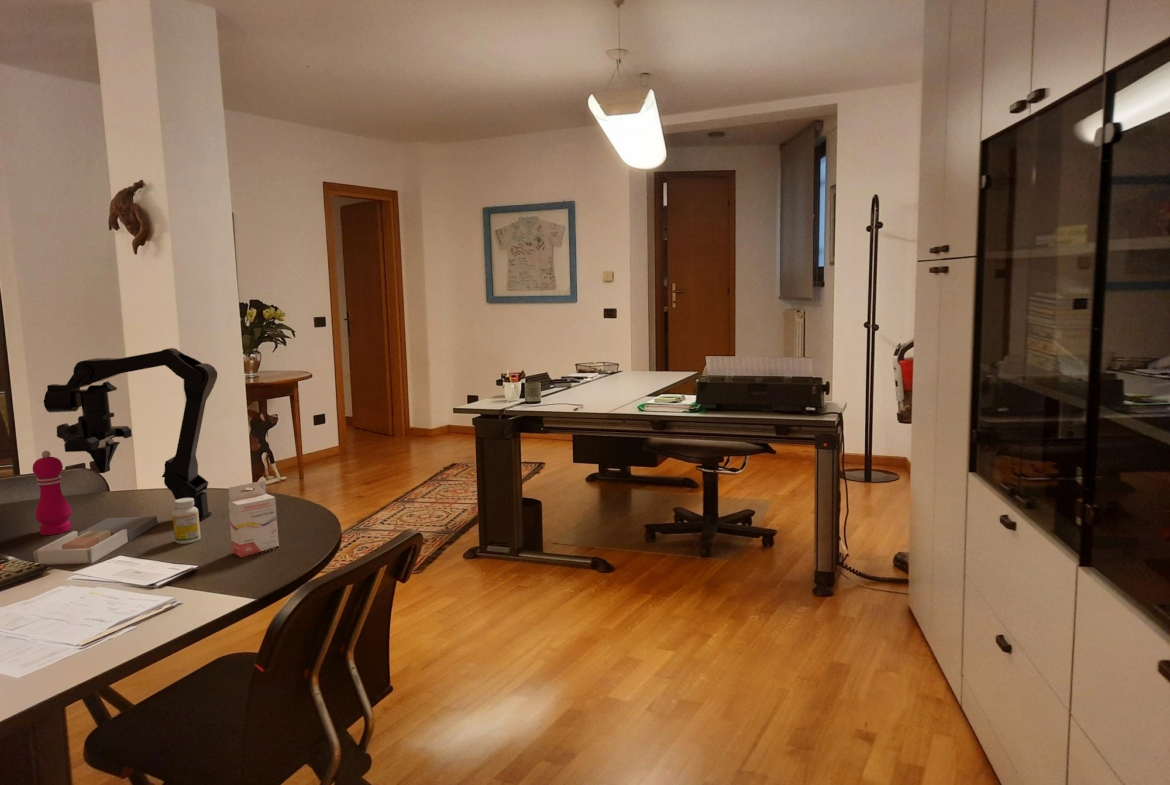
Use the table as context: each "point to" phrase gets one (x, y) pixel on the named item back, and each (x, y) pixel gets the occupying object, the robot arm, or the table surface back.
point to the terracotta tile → (81, 543)
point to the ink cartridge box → (252, 519)
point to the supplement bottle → (186, 521)
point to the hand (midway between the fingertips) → (103, 472)
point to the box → (78, 550)
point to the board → (124, 525)
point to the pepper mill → (51, 496)
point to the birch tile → (96, 535)
